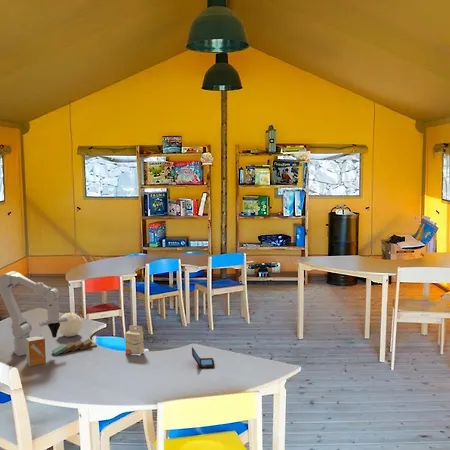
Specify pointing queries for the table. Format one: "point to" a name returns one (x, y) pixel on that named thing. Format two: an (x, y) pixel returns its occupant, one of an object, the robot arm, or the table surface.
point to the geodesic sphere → (70, 325)
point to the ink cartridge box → (134, 340)
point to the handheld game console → (203, 360)
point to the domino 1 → (59, 349)
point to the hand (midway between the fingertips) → (54, 337)
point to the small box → (35, 350)
